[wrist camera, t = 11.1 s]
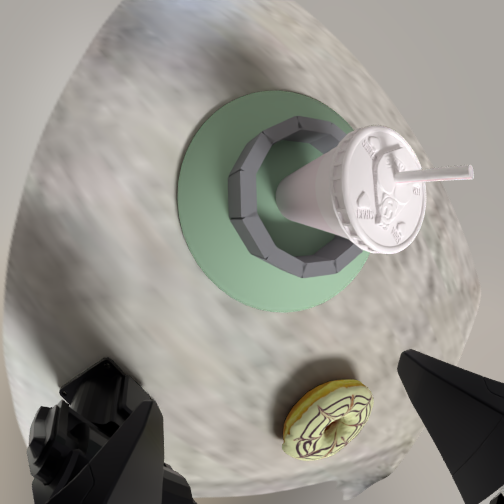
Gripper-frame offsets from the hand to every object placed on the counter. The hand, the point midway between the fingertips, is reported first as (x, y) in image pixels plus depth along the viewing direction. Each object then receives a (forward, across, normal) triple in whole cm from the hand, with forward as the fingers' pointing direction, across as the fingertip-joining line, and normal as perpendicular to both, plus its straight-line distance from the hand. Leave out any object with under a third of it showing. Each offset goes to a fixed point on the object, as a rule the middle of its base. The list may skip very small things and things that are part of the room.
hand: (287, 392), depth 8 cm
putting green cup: (+14, -4, -4) cm, 16 cm away
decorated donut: (+12, -6, +18) cm, 22 cm away
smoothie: (+14, -4, -4) cm, 15 cm away
